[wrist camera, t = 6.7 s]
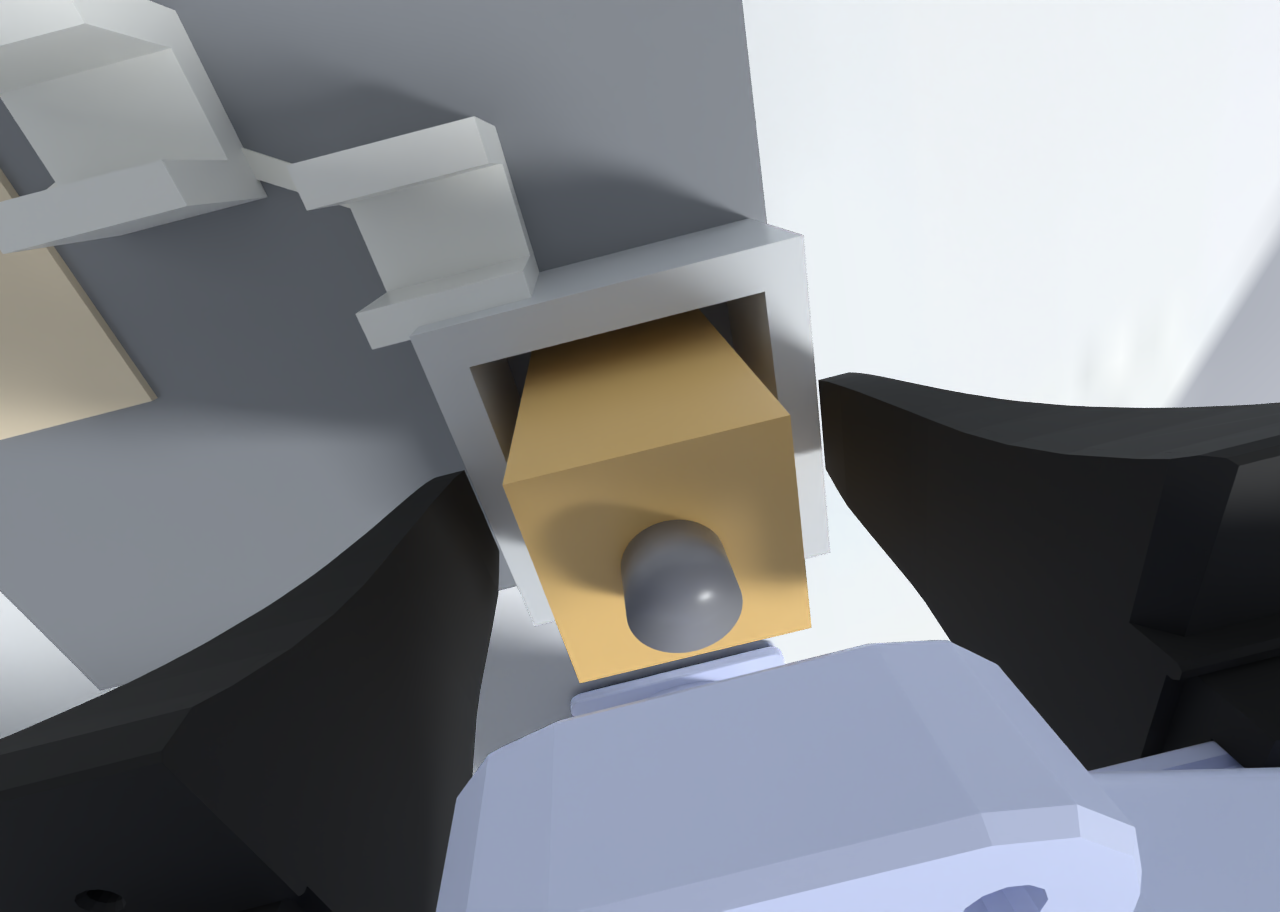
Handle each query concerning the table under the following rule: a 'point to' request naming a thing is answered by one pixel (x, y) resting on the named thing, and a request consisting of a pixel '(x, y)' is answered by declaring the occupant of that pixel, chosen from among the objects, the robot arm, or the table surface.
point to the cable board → (341, 277)
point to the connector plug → (657, 496)
